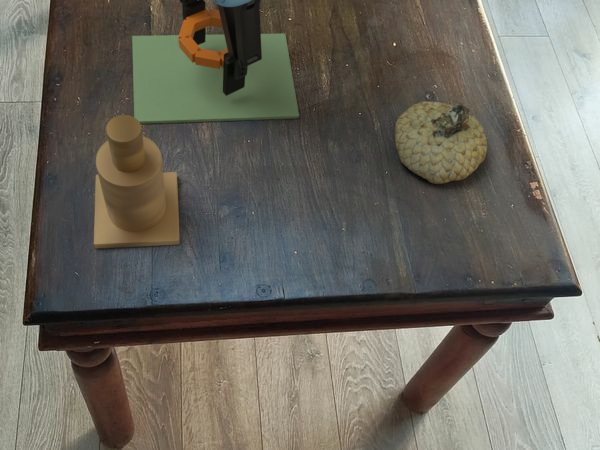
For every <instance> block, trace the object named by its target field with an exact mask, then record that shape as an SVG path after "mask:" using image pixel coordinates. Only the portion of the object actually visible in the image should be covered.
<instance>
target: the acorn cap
mask: <svg viewBox="0 0 600 450" xmlns="http://www.w3.org/2000/svg"><path fill="white" fill-rule="evenodd" d="M470 112H471V110H470V108H468V107H467V106H466V105H465V104H463V102H458V103H456V104H454V105H451V104H449V103H444V102H439V101H432V100H431V101H430V100H429V101H426V100H422V101H420V102H418V103H413V104H412V105H411V106H410V107H408V108H407V109H406V110H405V111H404V112H402V113H401V114H400V115H399V116H398V118H397V119H396V122H395V124H394V137H395V138H394V144H395V149H396V151H397V153H398V154H397V155H398V158H399V160H400V163H402V164H403V165H404V167H406V168H407V169H408V170H409V171H410V172H412V173H414V174H416V175H417V176H419V177H421V178H422V179H425V180H426V181H428V182H429V183H430V184H435V185H437V184H447V183H449V182H452V181H460V180H461V181H462V180H464V179H466V178H467V177H468V176H470V175H471V174H472V173H473V172H475V171H476V170H477V168H478V167H479V166H480V164H481V163H483V162H484V160H485V159H486V156H487V153H488V151H487V149H488V142H487V137H486V135H485V130H484V127H483V126H482V124H481V123H480V121H479V120H478V119H477V118H476V117H475V116H473V115H472V114H470Z"/></svg>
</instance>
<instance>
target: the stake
mask: <svg viewBox="0 0 600 450" xmlns="http://www.w3.org/2000/svg"><path fill="white" fill-rule="evenodd" d="M105 131H106V137H107V140H106V141H105V142H104V143H103V144H102V145H101V146H100V147H99V149H98V151H97V153H96V157H95V166H96V170H97V174H95V183H94V184H95V186H94V187H95V188H94V189H95V190H94V217H93V218H94V221H93V247H94V249H112V248H113V249H115V248H136V247H153V246H154V247H155V246H157V247H158V246H174V245H175V246H176V245H177V246H178V245H180V240H181V239H180V220H179V219H180V215H179V190H178V189H179V188H178V172H177V171H164V168H163V159H162V152H161V149H160V148H159V146H158V145H157V144H156V143H155V142H154V141H153V140H151V139H150V138H148V137H147V136H145V135H143V129H142V124H140V122H139V121H138V120H137V119H136V118H134V115H133V116H132V115H129V114H119V115H116V116H114V117H112V118H111V119H110V120H109V121H108V122H107V124H106V126H105Z"/></svg>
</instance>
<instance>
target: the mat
mask: <svg viewBox="0 0 600 450" xmlns="http://www.w3.org/2000/svg"><path fill="white" fill-rule="evenodd" d="M178 36H179V34H164V35H132V36H131V41H132V42H131V43H132V44H131V47H132V82H133V83H132V84H133V87H132V88H133V89H132V90H133V117H134V118H136V119H137V120H138V121H139V122H140V124H141V125H147V124H148V125H150V124H174V123H175V124H177V123H178V124H179V123H205V122H231V121H233V122H235V121H260V120H287V119H288V120H289V119H299V118H300V112H299V106H298V101H297V95H296V89H295V88H296V87H295V83H294V77H293V76H294V75H293V72H292V66H291V65H292V64H291V59H290V54H289V48H288V41H287V35H286V33H261V51H262V59H261V60H259V61H257V62H255V63H253V64H251V65H249V66H248V70H247V75H246V76H245V87H244V88H242V89H240V90H238V91H236V92H233V93H231V94H229V95H227V96H226V95H225V94H224V93H223V68H222V67H221V66H220V69H216V68H211V67H206V66H200V65H196V64H195V62H194V63H192V62H191V61H190V59H189V58H188V57H187V56H186V55H185V53H184V52H183V51H182V50H181V49H180V47H179V37H178ZM198 46H199V47H200V48H201V49H207V50H212V51H217V52H220V51H223V50H225V49H227V45H226V40H225V36H224V33H223V34H221V33H220V34H205V42H204V43H202V44H200V45H198Z"/></svg>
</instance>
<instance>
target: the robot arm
mask: <svg viewBox="0 0 600 450" xmlns="http://www.w3.org/2000/svg"><path fill="white" fill-rule="evenodd" d="M179 2H180V4H181V8H182V12H181V13H182V22H183V21H184V20H186V17H188V16H191V15H193V14H196V13H198V12H200V11H203V10H205V9H206V1H205V0H179ZM211 2H213V3H214V4H216V5H217V8H218V10H219V13H220V18H221V22H222V27H223V28H222V31H223V34H224V36H225V40H226V45H227V49H228V52H227V53H225V54H224V66H223V93H224V94H225V95H226V96H227V95H229V94H231V93H233V92H236V91H238V90H240V89H242V88H244V87H245V76H246V75H247V70H248V66H249V65H251V64H253V63H255V62H257V61H259V60H261V59H262V51H261V34H262V29H261V28H262V27H261V8H260V6H261V5H260V4H261V0H211ZM205 35H206V27H205V28H203V29H200V30H198V31H196V32H195V33H194V36H193V40H194V41H195V42H196V43H197V45H200V44H202V43H204V42H205Z"/></svg>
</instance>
